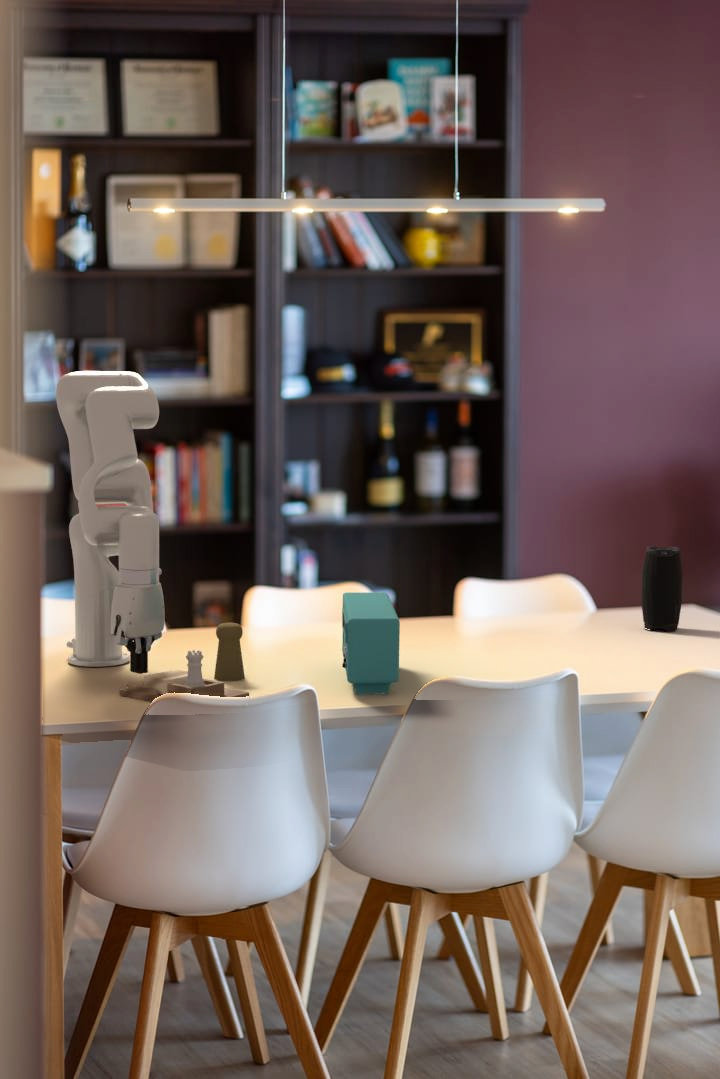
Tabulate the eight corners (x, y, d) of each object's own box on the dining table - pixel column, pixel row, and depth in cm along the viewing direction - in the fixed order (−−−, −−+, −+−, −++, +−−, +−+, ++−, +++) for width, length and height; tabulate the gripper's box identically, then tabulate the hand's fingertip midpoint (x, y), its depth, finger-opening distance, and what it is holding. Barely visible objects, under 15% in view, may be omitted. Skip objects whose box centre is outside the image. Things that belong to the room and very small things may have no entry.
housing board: (119, 695, 276) (119, 677, 276) (174, 684, 287) (174, 666, 286) (194, 711, 263) (194, 692, 263) (249, 698, 274) (249, 680, 274)
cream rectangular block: (144, 690, 274) (144, 675, 274) (176, 684, 280) (176, 669, 280) (166, 695, 270) (166, 680, 270) (198, 688, 277) (198, 673, 276)
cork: (245, 675, 296) (245, 620, 294) (244, 681, 290) (244, 625, 288) (215, 675, 295) (214, 620, 294) (213, 681, 289) (212, 625, 288)
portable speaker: (634, 627, 354) (636, 546, 352) (668, 625, 357) (670, 544, 355) (653, 633, 346) (655, 550, 344) (687, 631, 349) (690, 548, 347)
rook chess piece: (183, 692, 274) (183, 649, 273) (207, 692, 274) (207, 649, 273) (181, 697, 269) (181, 653, 268) (206, 697, 270) (206, 653, 269)
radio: (337, 663, 309) (338, 592, 307) (387, 663, 309) (388, 592, 308) (343, 698, 275) (343, 618, 273) (399, 698, 276) (400, 618, 274)
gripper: (154, 570, 287) (154, 662, 290) (95, 579, 276) (95, 675, 279) (181, 574, 283) (181, 669, 285) (121, 584, 271) (122, 682, 274)
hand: (139, 671), depth 282 cm, fingers closed
